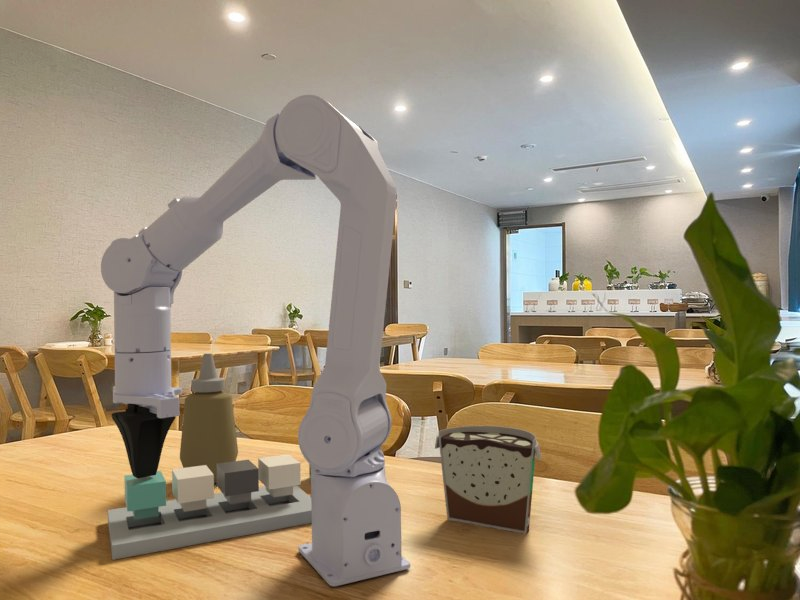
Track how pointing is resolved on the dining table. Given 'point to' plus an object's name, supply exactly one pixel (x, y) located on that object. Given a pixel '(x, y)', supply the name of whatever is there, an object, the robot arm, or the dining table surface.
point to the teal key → (145, 495)
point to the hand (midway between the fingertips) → (144, 475)
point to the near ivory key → (279, 474)
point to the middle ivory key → (192, 487)
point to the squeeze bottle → (208, 422)
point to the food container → (488, 475)
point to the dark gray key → (237, 480)
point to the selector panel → (205, 522)
